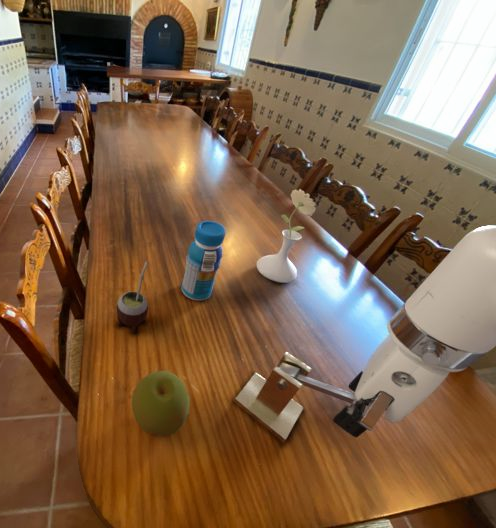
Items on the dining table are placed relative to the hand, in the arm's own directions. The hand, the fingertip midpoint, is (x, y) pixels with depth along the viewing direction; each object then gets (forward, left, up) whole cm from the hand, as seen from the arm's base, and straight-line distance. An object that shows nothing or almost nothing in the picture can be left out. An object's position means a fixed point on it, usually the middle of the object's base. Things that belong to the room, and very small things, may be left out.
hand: (352, 409), depth 44 cm
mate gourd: (+38, -18, -13) cm, 44 cm away
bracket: (+8, -5, -13) cm, 16 cm away
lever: (+4, -2, -1) cm, 4 cm away
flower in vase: (+2, -48, -13) cm, 50 cm away
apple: (+28, +2, -13) cm, 31 cm away
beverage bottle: (+24, -33, -13) cm, 43 cm away
